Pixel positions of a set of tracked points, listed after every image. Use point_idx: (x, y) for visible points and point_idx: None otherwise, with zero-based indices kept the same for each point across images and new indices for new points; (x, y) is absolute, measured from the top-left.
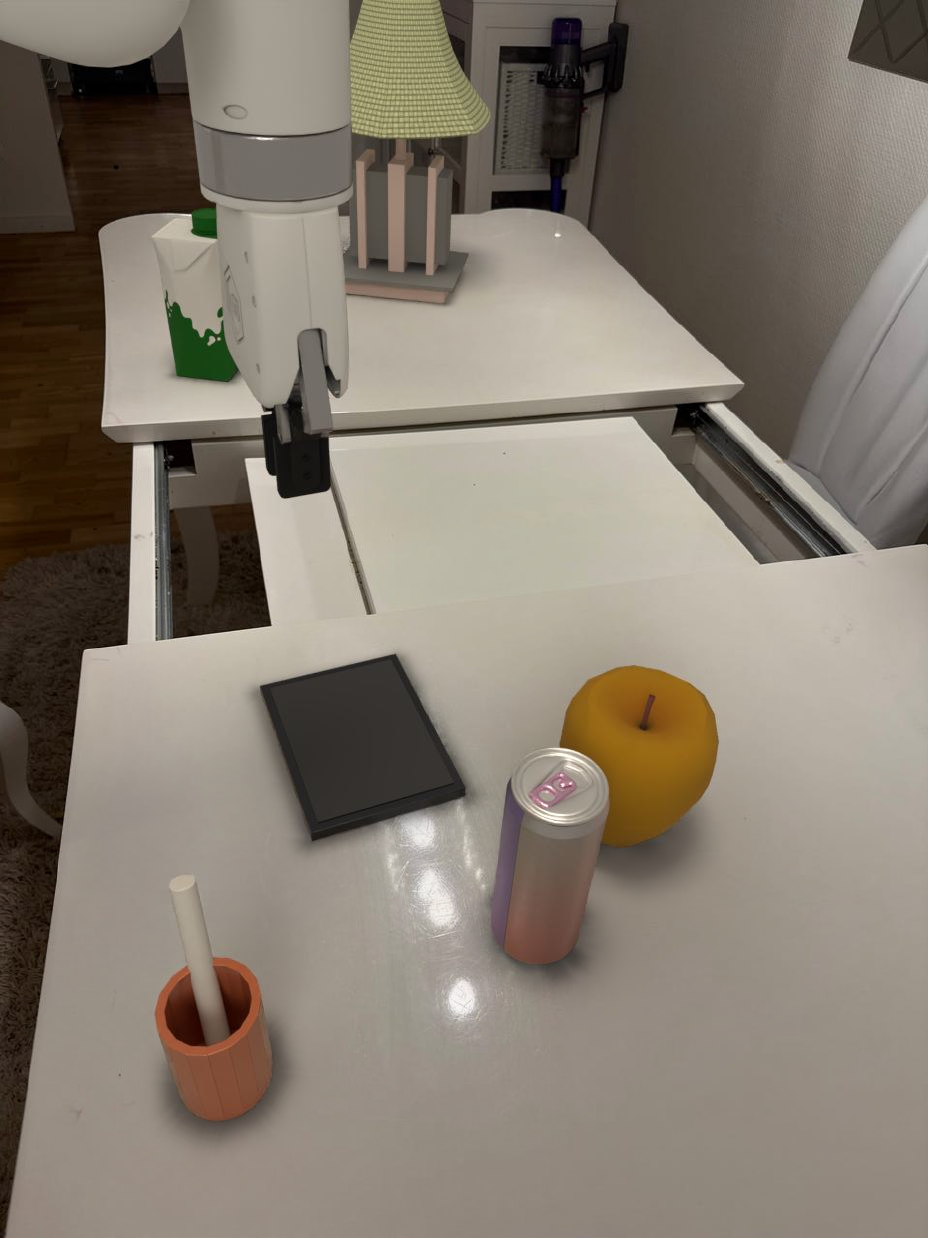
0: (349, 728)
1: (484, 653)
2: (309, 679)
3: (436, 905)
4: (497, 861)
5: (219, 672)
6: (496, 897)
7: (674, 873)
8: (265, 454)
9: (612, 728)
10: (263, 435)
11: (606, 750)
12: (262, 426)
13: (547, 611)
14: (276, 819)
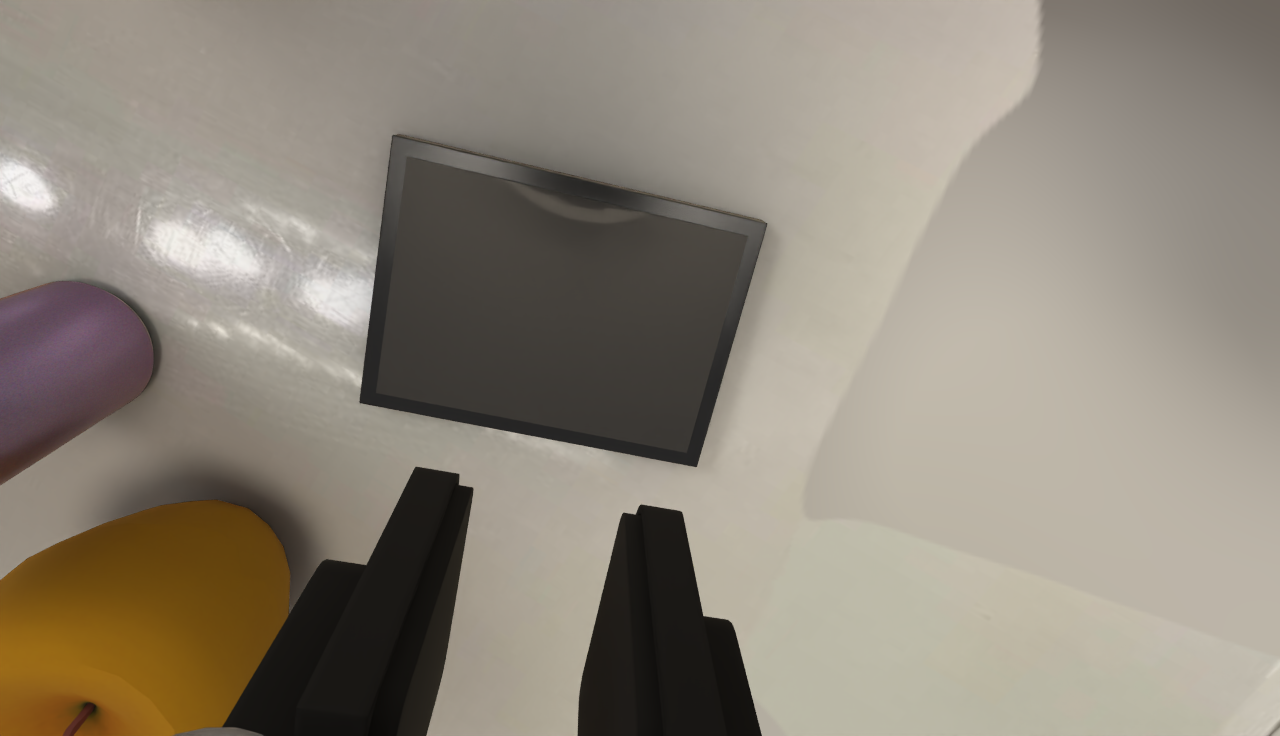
0: (576, 310)
1: None
2: (725, 309)
3: (191, 243)
4: (7, 342)
5: (862, 179)
6: (24, 309)
7: None
8: (667, 563)
9: (28, 672)
10: (691, 645)
11: (1, 632)
12: (699, 693)
13: None
14: (474, 104)
